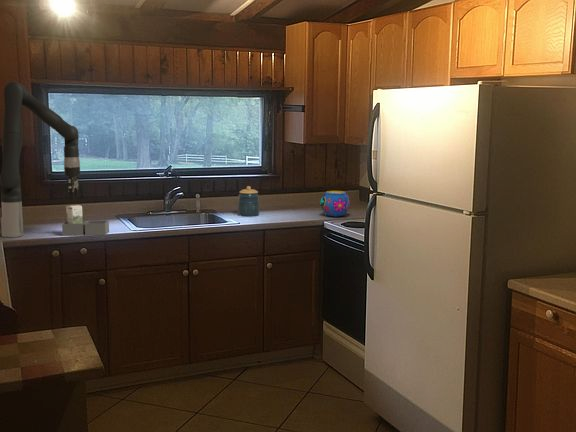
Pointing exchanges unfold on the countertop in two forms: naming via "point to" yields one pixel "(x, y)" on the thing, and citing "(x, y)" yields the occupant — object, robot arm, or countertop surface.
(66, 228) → the bin
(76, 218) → the syrup box
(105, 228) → the bin
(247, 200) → the canister
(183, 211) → the countertop surface
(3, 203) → the robot arm
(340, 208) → the ceramic pot
